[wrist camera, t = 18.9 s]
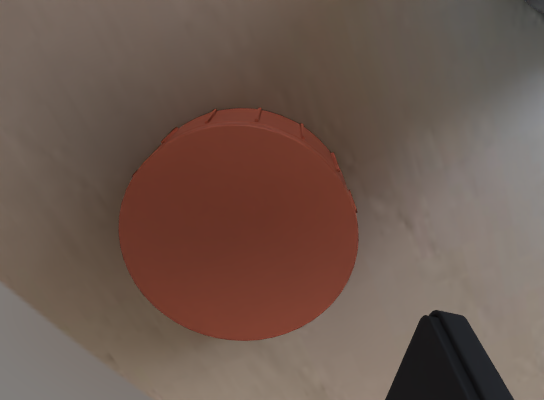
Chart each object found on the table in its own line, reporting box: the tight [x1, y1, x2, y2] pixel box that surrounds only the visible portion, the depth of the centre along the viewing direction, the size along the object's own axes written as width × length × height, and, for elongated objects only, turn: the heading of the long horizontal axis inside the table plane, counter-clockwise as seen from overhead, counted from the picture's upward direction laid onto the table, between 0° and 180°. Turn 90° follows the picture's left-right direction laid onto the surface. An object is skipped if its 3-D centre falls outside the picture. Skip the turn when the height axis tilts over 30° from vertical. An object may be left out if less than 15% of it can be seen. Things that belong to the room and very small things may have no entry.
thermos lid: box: [119, 108, 359, 341], centre depth 15 cm, size 7×7×2 cm
